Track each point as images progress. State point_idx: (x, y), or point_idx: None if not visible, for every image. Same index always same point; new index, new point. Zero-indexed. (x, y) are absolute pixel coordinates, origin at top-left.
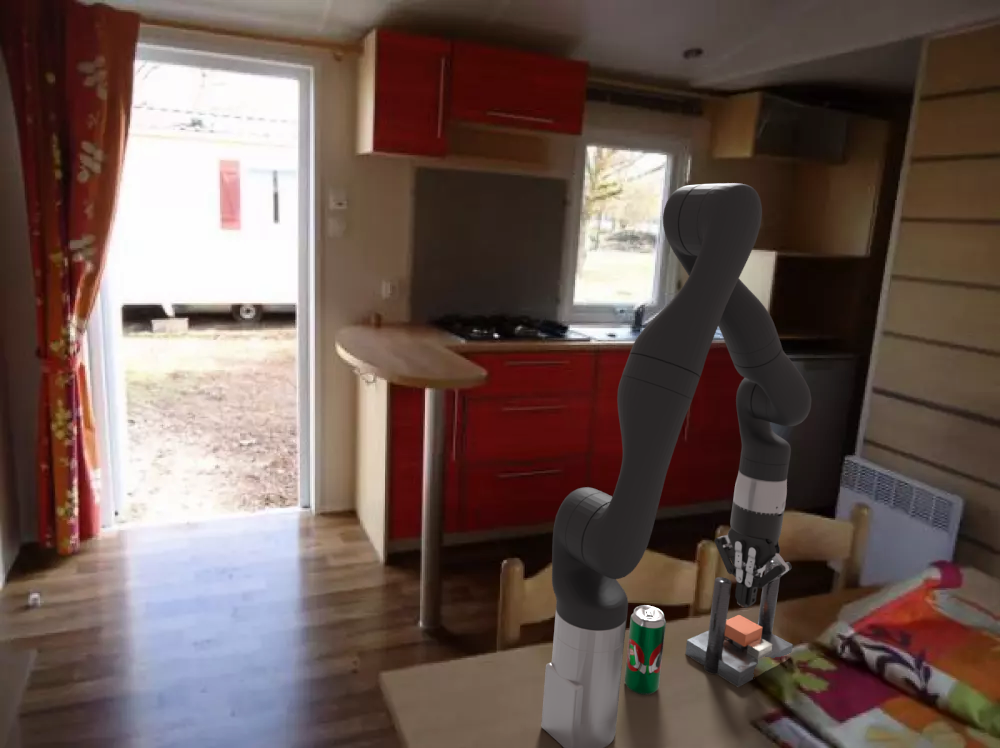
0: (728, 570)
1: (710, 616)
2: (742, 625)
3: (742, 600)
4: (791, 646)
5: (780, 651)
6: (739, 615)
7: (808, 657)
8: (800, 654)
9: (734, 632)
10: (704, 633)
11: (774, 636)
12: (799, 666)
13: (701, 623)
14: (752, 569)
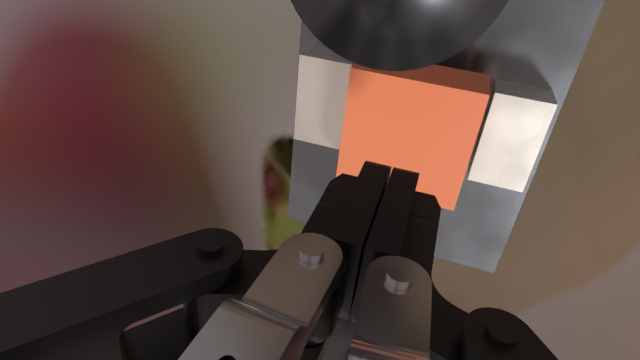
0: (515, 331)
1: None
2: (400, 135)
3: (377, 179)
4: (289, 209)
5: (293, 157)
6: (449, 206)
7: (278, 226)
8: (298, 227)
9: (415, 74)
10: (572, 58)
11: None
12: (271, 171)
13: (632, 197)
14: (200, 338)
